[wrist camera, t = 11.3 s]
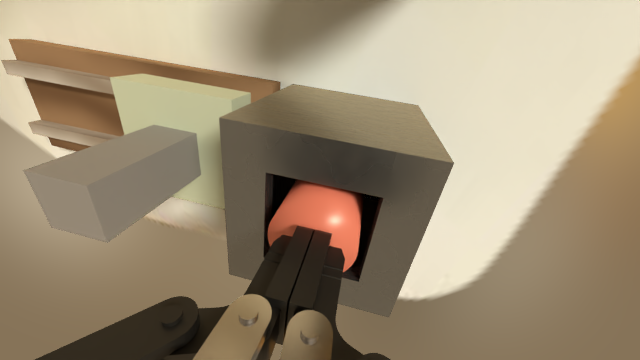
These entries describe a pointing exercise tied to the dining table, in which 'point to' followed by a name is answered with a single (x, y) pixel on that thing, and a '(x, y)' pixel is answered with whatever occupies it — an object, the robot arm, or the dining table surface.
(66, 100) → the rail track
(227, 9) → the dining table surface
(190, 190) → the carriage
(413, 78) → the dining table surface
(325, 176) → the cabinet
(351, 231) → the plunger
